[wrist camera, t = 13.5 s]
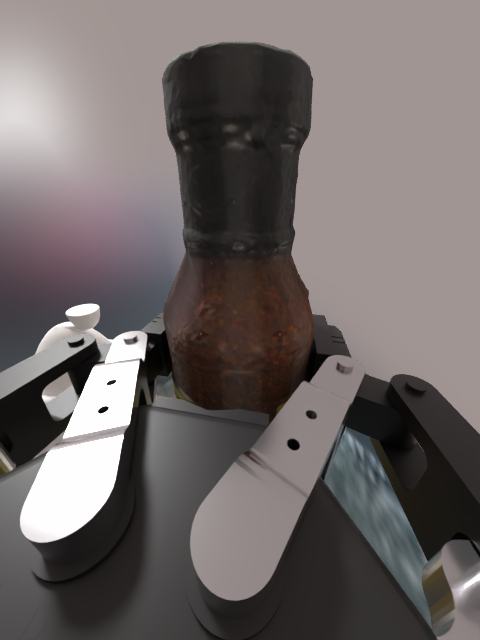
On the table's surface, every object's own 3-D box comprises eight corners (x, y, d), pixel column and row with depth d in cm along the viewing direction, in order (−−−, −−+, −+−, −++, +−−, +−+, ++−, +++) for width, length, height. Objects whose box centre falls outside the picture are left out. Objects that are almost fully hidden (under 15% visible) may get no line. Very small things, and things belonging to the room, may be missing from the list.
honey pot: (166, 395, 36) (145, 283, 27) (158, 485, 24) (119, 343, 16) (73, 409, 33) (18, 290, 25) (17, 516, 22) (-117, 366, 14)
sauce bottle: (264, 432, 19) (298, 127, 10) (306, 521, 14) (456, 46, 5) (183, 455, 17) (135, 104, 8) (196, 569, 12) (101, -74, 3)
